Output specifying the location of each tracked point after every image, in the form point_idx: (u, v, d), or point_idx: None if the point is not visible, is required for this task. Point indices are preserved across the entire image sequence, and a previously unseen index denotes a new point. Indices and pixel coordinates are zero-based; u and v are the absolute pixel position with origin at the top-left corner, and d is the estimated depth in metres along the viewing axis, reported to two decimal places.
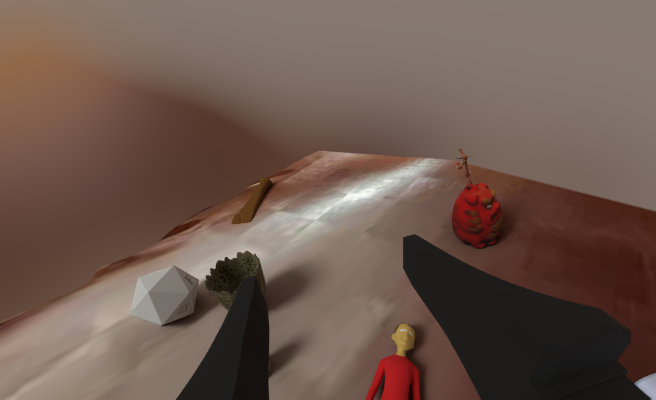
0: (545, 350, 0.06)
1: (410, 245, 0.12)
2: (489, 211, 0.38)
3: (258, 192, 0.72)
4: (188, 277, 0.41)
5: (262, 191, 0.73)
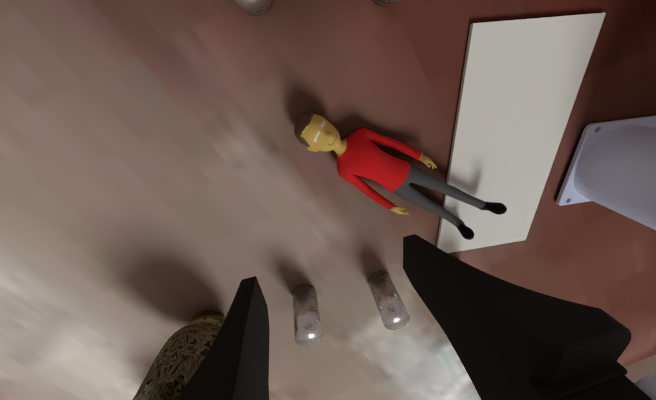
0: (545, 350, 0.06)
1: (410, 245, 0.12)
2: None
3: None
4: None
5: None
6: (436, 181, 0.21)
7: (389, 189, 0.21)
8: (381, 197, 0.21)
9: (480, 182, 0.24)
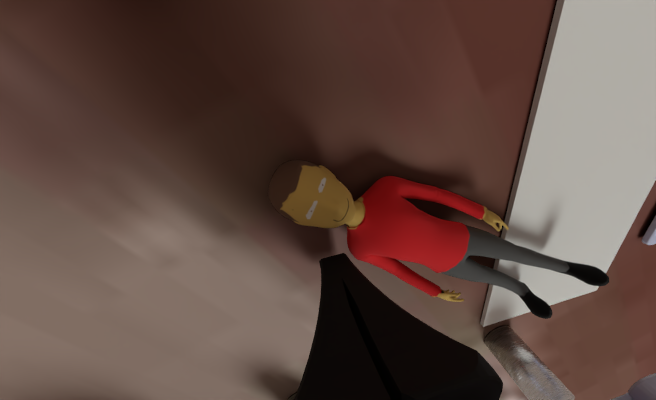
0: (404, 399, 0.06)
1: None
2: None
3: None
4: None
5: None
6: (507, 248, 0.13)
7: (434, 269, 0.12)
8: (419, 278, 0.13)
9: (549, 232, 0.16)
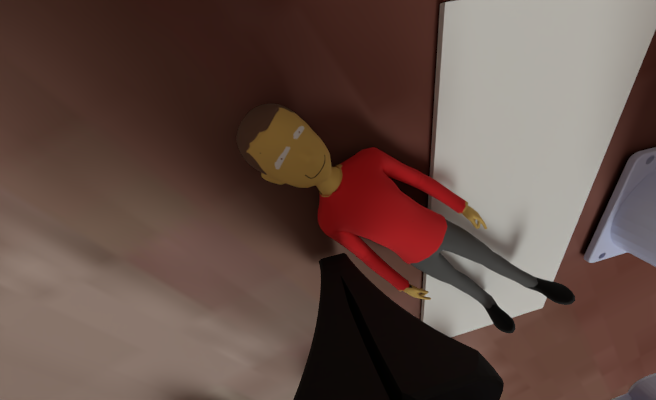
0: (405, 399, 0.06)
1: None
2: None
3: None
4: None
5: None
6: (482, 249, 0.12)
7: (405, 259, 0.12)
8: (388, 269, 0.12)
9: None
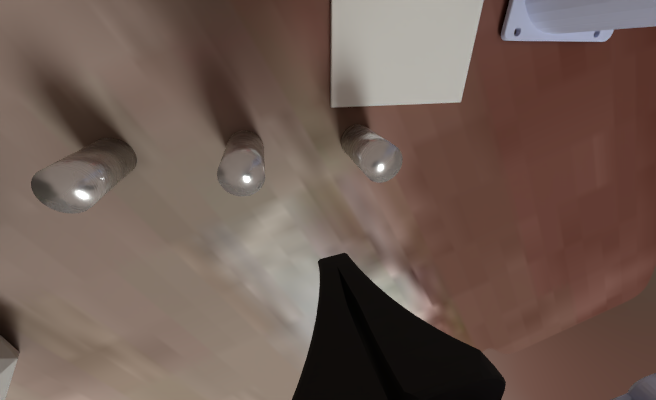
0: (407, 398, 0.06)
1: None
2: None
3: None
4: None
5: None
6: None
7: None
8: None
9: None
